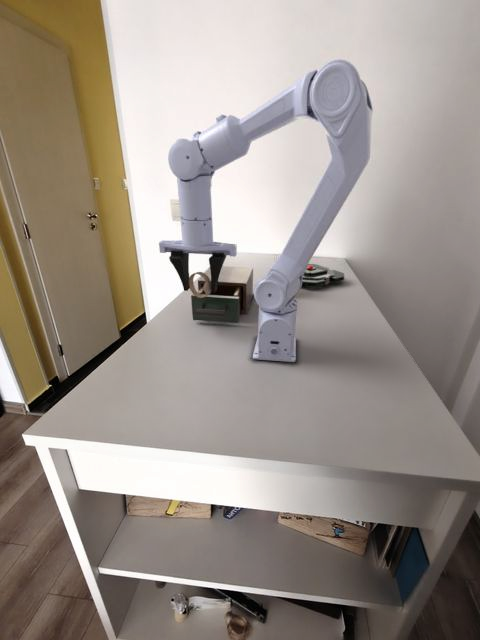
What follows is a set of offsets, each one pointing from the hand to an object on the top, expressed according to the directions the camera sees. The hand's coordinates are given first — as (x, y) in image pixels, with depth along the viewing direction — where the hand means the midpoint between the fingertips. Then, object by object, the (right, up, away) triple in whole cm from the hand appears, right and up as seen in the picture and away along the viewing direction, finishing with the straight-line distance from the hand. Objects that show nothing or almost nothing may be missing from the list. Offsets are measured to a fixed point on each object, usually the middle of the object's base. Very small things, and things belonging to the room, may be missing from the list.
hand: (200, 290), depth 67 cm
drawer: (+2, -4, +11) cm, 12 cm away
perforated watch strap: (0, -1, +1) cm, 2 cm away
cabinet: (+3, 0, +20) cm, 21 cm away
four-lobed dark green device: (+27, +10, +40) cm, 49 cm away
